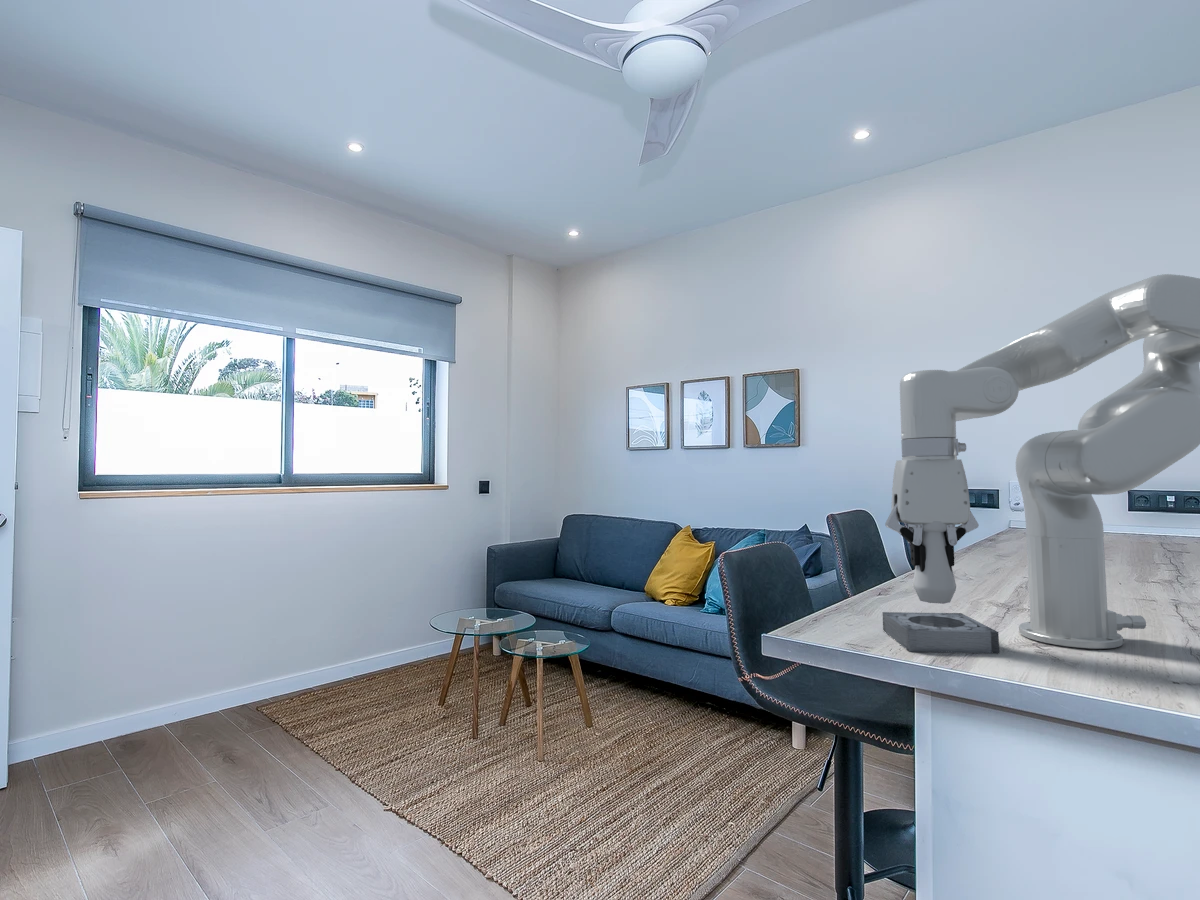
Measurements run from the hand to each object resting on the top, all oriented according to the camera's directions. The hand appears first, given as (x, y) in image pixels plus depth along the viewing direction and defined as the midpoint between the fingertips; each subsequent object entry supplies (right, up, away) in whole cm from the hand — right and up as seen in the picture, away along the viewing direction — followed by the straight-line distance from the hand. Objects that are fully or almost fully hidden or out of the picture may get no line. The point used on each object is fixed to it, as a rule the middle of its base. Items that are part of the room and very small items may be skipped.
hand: (932, 569), depth 94 cm
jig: (0, -11, 0) cm, 11 cm away
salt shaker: (0, -5, 0) cm, 5 cm away
